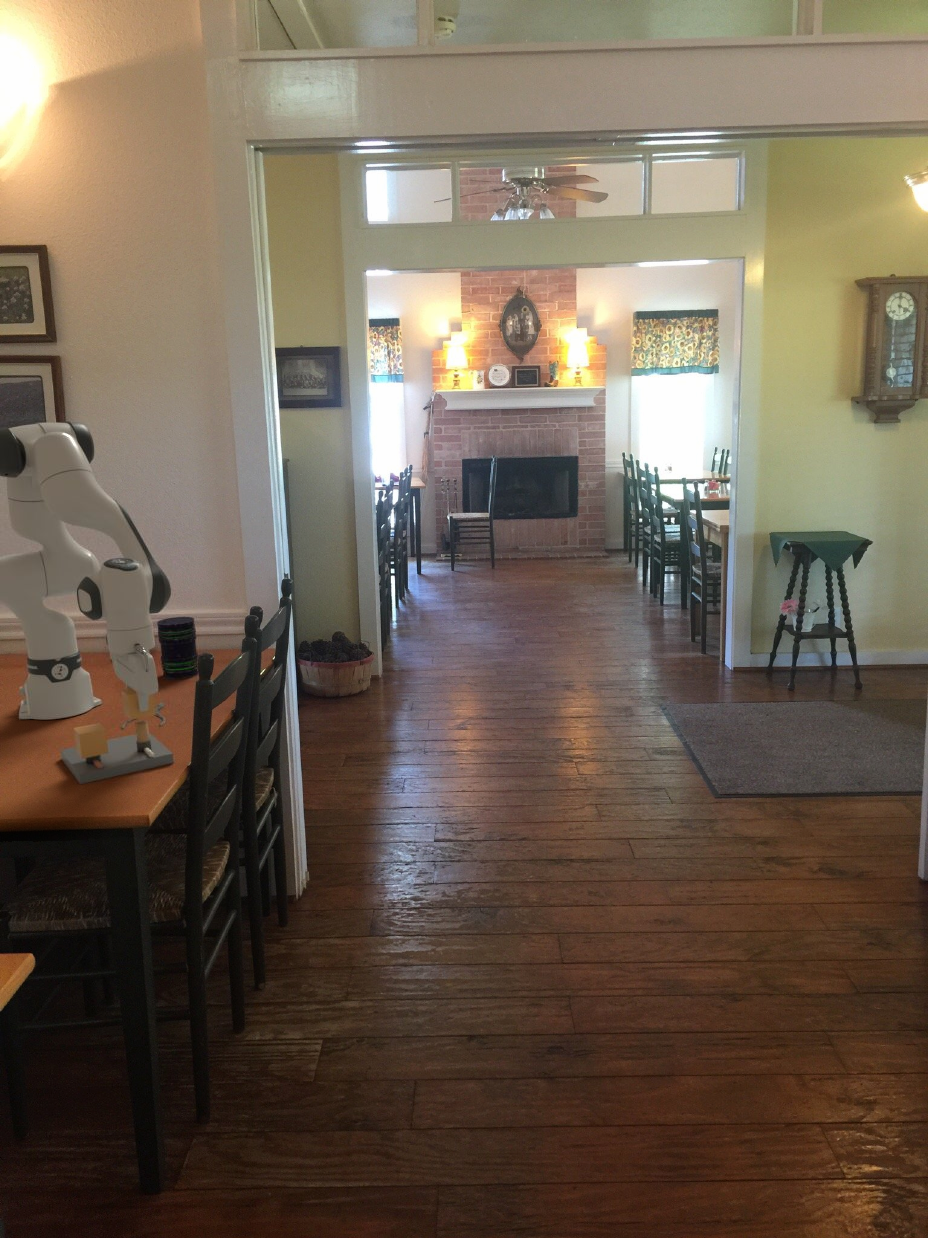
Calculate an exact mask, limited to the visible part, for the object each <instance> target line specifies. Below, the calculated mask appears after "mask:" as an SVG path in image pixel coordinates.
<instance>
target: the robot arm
mask: <svg viewBox="0 0 928 1238" xmlns="http://www.w3.org/2000/svg"><path fill="white" fill-rule="evenodd" d="M94 457H95V442H94V440H93V436H92V434H91V431H90V430H89V428H87V426H86V425H84V424H83V423H80V422H75V421H64V422H52V421H51V422H50V421H49V422H36V423H34V424H33V423H31V424H26V425H25V424H23V425H19V426H14V427H9V428H8V427H2V428H0V477H4V478H6V494H7V503H8V512H9V521H10V526H11V528H12V530H13V531H14V532H15V534H17V535H18V536H19V537H22V538H23V539H27V540H29V541H33V542H35V543H37V544H40V545H41V546H42V550H40V551H32V552H24V553H23V552H22V553H13V554H7V555H3V556H0V604H2V605H4V606H5V608H8V610H9V611H11V612H12V613H13V614H14V616H15V617H16V619H17V620H18V621H19V624H20V625H21V627H22V631H23V635H24V640H25V644H26V649H27V650H26V651H27V655H28V656H27V658H26V666H27V672H28V677H27V678H26V681H25V683H24V684H23V685H22V686H19V694H20V697H24V698H23V699H22V700H21V701H20V706H19V712H18V719H19V720H30V719H31V720H32V719H33V720H56V719H63V718H69V717H73V716H78V715H80V714H84V713H87V712H89V711H90V710H91V709H93V708H95V707H98V706H99V705H102V699H100V698H97V697H95V696H94V693H93V692H94V691H93V685H92V680H91V675H90V673H89V672H88V671H87V670H86V669H84V668H83V667H82V665H83V664H82V662H83V661H82V655H81V652H80V650H79V649H78V641H77V633H76V632H77V631H76V627H75V622H74V621H73V619H72V618H71V617H70V616H69V615H67V614H65V613H63V612H60V611H57V610H54V609H51V608H48V607H46V606H45V605H44V599H47V598H54V597H55V598H56V597H61V596H62V597H63V596H70V595H76V598H77V604H78V608H79V611H80V613H82V614H83V615H84V616H85V617H87V618H88V619H90V620H92V621H106V626H105V630H106V634H105V644H106V645H107V646H108V652H110V657H111V663H112V666H113V670H114V673H115V676H116V677H117V678H118V679H120V680H121V681H122V682H123V683H124V684H125V685H124V686H125V690H126V689H131V688H132V689H133V690H134V691H136V692H137V695H138V702H137V705H138V709H139V710H140V711H141V712H143V711H147V710H148V709H149V706H148V700H149V694H153V695H154V694H157V693H158V692H159V683H158V681H159V680H158V675H157V671H156V669H157V668H156V665H155V660H154V657H153V655H152V654H151V653H150V650H151V649H154V648H155V646H156V642H155V641H156V640H155V632H154V625H153V619H152V617H151V615H152V614H159V613H160V612H161V611H163V609H164V608H165V607H166V606H167V604H168V603H169V601H170V598H171V595H172V587H171V583H170V580H169V578H168V577H167V575H166V573H165V572H164V571H163V569H162V568H161V567H160V566H159V564H158V562H156V561H155V559H154V557H153V555H152V554H151V551H150V550H149V548H148V547H147V545H146V543H145V541H144V539H143V537H142V536H141V534H140V532H139V531H138V530H139V529H137V527H136V525H135V523H134V522H133V520H132V518H131V517H130V515H129V513H128V511H127V510H126V509H125V507H124V506H123V504H122V503H121V502H120V501H118V499H114V498H113V497H111V496H110V495H109V494H108V493H106V491H105V490H104V489H103V488H102V487H101V485H100V484H99V483H98V481H97V479H96V477H95V474H94V472H93V469H92V467H91V465H90V464H91V462H93V460H94ZM66 524H67V525H72V526H75V527H80V528H86V529H90V530H94V531H97V532H100V533H103V534H105V535H107V536H108V537H109V538H111V539H112V540H113V541H114V542H115V544H116V546H117V547H118V549H119V551H120V553H121V554H122V556H123V557H117V558H111V559H107V560H105V561H104V562H103V563H101V565H100V562H99V559H98V558H97V557H96V556H95V554H94V553H93V552H91V550H89V549H87V548H85V547H84V546H82V545H80V544H79V543H78V542H77V541H76V540H75V539H74V538H73V537H72V534H70V532H69V531H68V529H67V527H66Z"/></svg>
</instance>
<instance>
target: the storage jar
mask: <svg viewBox="0 0 928 1238" xmlns="http://www.w3.org/2000/svg"><path fill="white" fill-rule="evenodd" d="M156 624H157V636H158V642H159V644H160V653H161V656H160V661H161V662H160V663H161V668H162V672H163V673H162V677H163V679H167V680H168V679H169V680H178V679H179V678H181V679H187V677H188V678H191V677H195V676H197V675H199V674H198V671H197V661H198V659H199V652H198V651H197V642H196V641H197V640H196V639H197V633H196V632H197V629H196V626H195V625H196V624H195V618H194V617H190V616H177V617H176V616H175V617H169V618H168V617H167V618H164V619H160V620H158V621H157V623H156ZM179 680H180V679H179Z"/></svg>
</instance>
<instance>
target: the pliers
mask: <svg viewBox="0 0 928 1238" xmlns="http://www.w3.org/2000/svg"><path fill="white" fill-rule="evenodd" d="M164 707H165V703H164V701H163V700H162V701H161V702H160V703H158V704H157V705H156V706H155V713H156V715H154V716H156V717H158V718H159V719H161V720H162V722H161V723H160V724H159V727H163V726H164V725H165V723H166V721H167V719H166V717H165V716H164V715H162V714H161V713H160V711H161V710H162V709H164ZM138 719H139V718H137V719H132V720H130V719H129V718H128V720H126V721H125V722H124V723H123V724H122V725H121V730H125V728H126V726H127V725H128V724H129V723H131V722H133V720H134V721H136V720H138ZM127 723H128V724H127ZM125 725H126V726H125Z"/></svg>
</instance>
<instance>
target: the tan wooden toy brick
mask: <svg viewBox="0 0 928 1238" xmlns="http://www.w3.org/2000/svg"><path fill="white" fill-rule="evenodd" d="M120 694H121V699H122V700H121V701H122V708H123V714H124V715H125V717H127V718H128V720H129V719H130V720H132V719H136V720H138V719H141V718H147V717H151V716H155V715H156V713H155V707H156V705H155V699H154V698H155V697H154V694H149V700H148V706H149V709H148V710H147V711H143V712H141V711H140V710H139V709H138V705H137V702H138V695H137V692H136V691H134V690H133V689H132V688H131V689H126V688H125V689H121V693H120ZM137 718H138V719H137Z"/></svg>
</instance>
